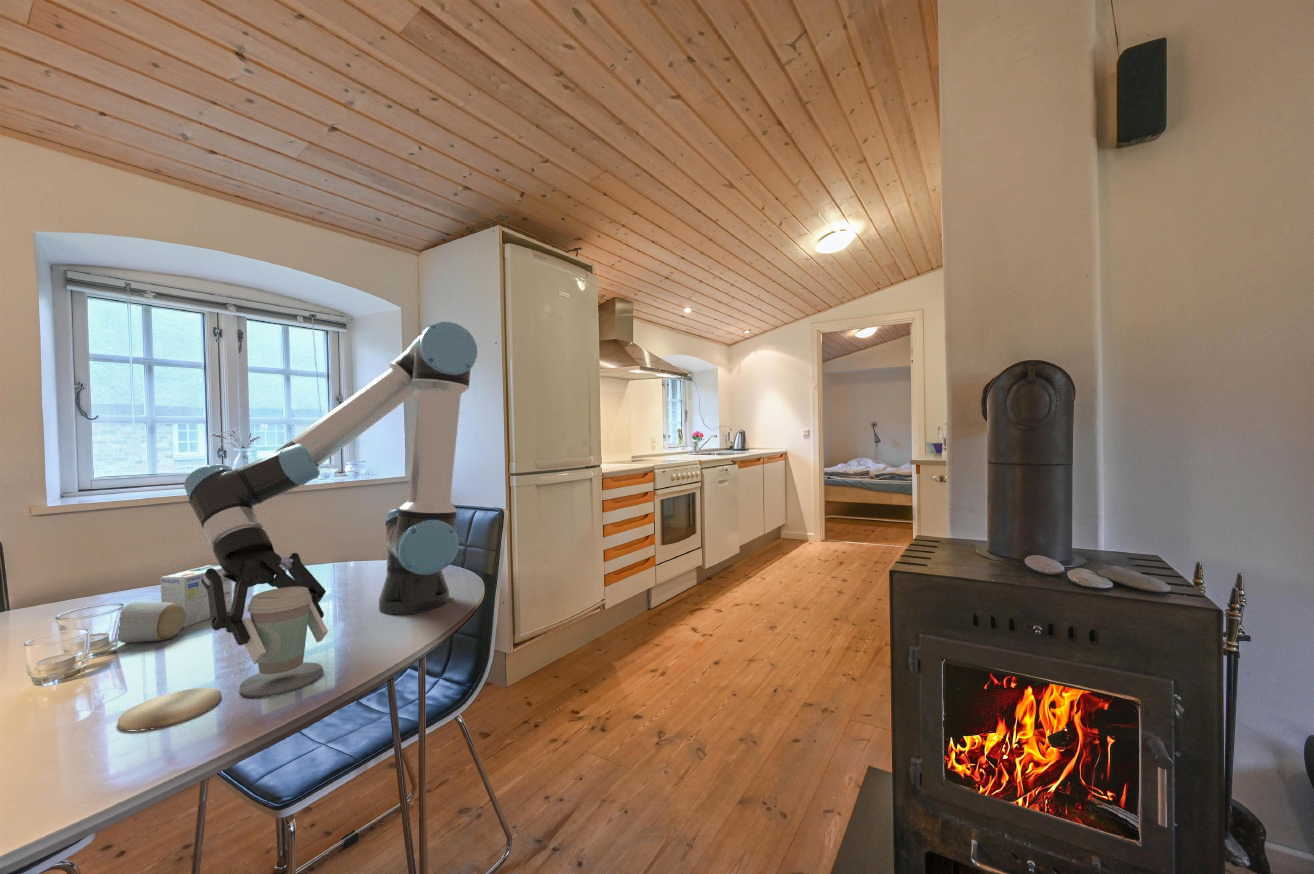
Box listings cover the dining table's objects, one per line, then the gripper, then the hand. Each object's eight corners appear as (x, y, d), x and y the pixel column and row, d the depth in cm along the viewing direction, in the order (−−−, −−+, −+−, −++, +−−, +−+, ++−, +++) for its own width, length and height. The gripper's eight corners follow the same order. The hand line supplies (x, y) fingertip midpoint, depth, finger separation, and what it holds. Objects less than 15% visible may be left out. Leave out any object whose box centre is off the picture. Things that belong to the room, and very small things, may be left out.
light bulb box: (208, 609, 122) (208, 564, 122) (233, 610, 121) (233, 564, 121) (159, 626, 111) (158, 576, 112) (186, 627, 111) (185, 576, 111)
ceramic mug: (160, 645, 100) (160, 605, 101) (112, 648, 99) (112, 608, 99) (200, 627, 111) (200, 591, 111) (156, 630, 110) (156, 593, 110)
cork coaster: (226, 684, 83) (226, 681, 83) (214, 714, 74) (214, 710, 74) (131, 705, 77) (131, 701, 77) (105, 740, 68) (105, 735, 68)
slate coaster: (322, 660, 92) (322, 657, 92) (323, 684, 83) (323, 680, 83) (244, 676, 86) (244, 673, 86) (234, 704, 77) (234, 700, 77)
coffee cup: (243, 667, 84) (242, 593, 84) (305, 651, 90) (304, 582, 90) (254, 684, 78) (253, 604, 78) (319, 665, 84) (318, 591, 84)
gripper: (296, 542, 101) (348, 637, 93) (151, 567, 82) (202, 689, 74) (312, 516, 98) (366, 612, 91) (166, 535, 79) (220, 658, 72)
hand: (292, 646), depth 83 cm, fingers closed on coffee cup, 8 cm apart
